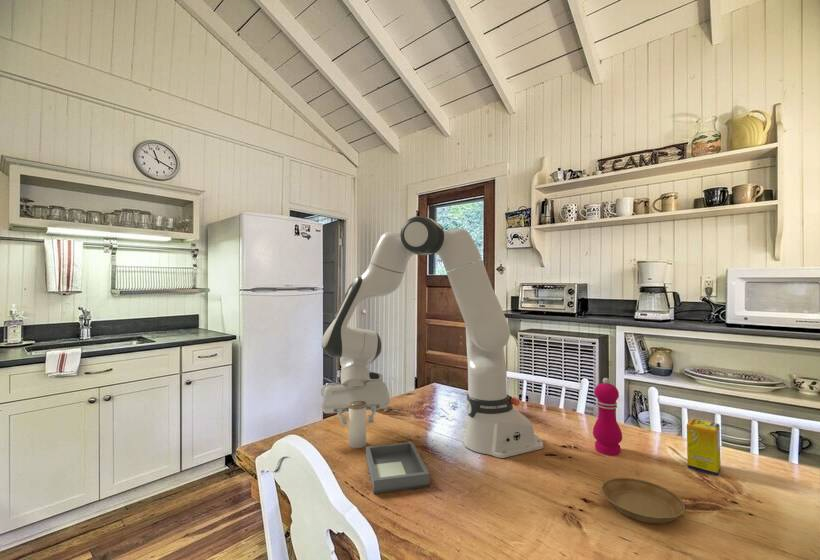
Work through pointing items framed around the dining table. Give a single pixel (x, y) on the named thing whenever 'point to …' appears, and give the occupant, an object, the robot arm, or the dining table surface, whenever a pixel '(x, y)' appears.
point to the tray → (396, 467)
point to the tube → (357, 424)
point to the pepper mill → (607, 420)
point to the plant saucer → (643, 500)
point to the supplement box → (703, 446)
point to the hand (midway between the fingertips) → (357, 423)
